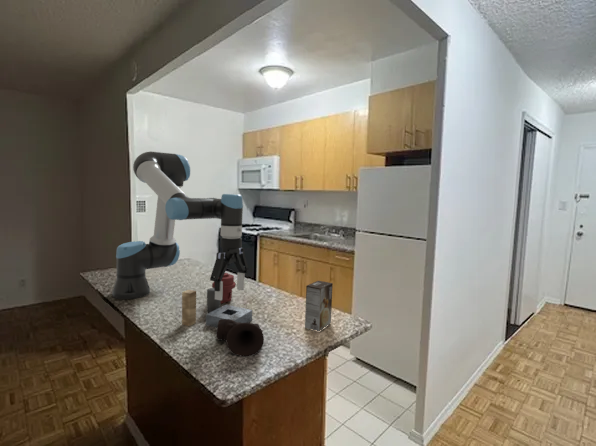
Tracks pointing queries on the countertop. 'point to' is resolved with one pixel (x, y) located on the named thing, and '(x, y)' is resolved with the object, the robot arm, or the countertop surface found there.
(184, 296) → the oak peg
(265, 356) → the countertop surface
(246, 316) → the socket block
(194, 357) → the countertop surface
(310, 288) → the coffee box
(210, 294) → the gray capsule
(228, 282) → the mechanical component
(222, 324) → the pipe
